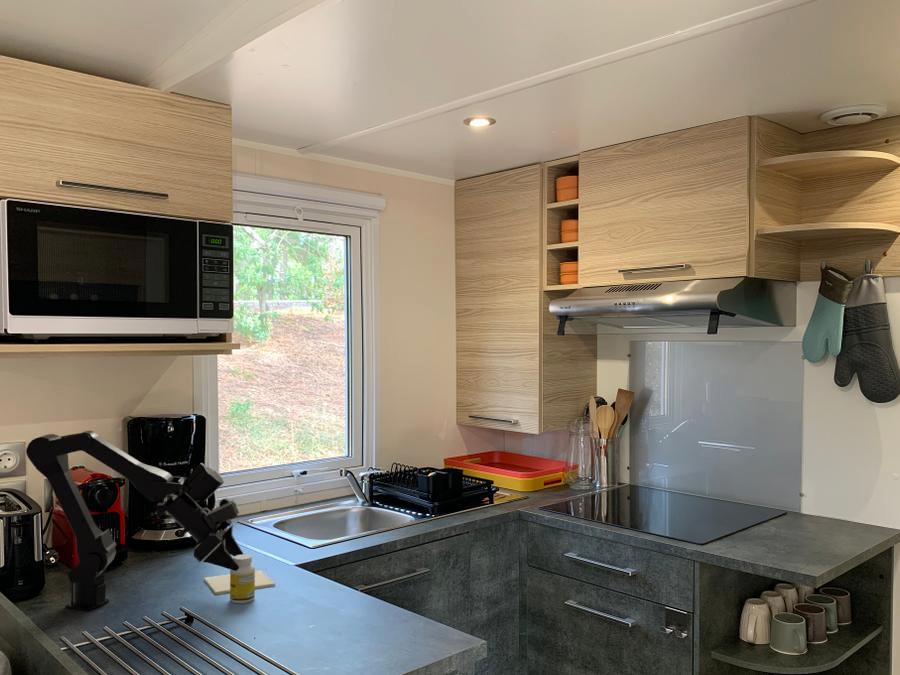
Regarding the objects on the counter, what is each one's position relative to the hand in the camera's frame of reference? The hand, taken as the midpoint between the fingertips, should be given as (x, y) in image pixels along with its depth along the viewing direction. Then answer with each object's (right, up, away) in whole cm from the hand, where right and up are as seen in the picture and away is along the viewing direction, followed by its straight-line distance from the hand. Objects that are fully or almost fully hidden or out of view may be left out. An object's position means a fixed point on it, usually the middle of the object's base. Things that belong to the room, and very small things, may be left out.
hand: (240, 563), depth 172 cm
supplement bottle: (0, -8, 0) cm, 8 cm away
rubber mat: (-4, -8, +12) cm, 15 cm away
